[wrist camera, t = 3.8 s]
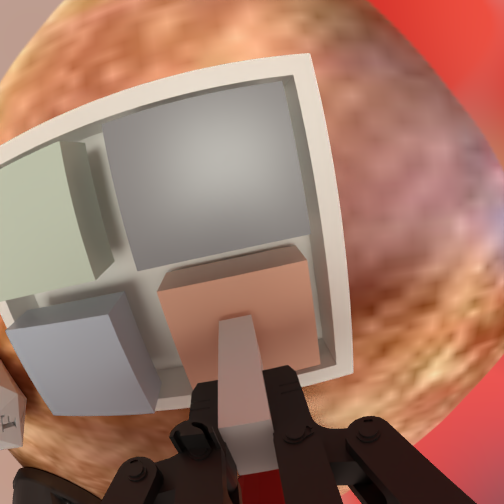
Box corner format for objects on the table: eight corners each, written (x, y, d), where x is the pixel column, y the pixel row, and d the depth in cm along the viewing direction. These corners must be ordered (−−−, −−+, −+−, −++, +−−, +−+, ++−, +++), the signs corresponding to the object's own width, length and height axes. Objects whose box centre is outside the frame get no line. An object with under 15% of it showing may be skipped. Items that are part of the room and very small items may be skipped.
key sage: (17, 285, 14) (-7, 303, 12) (-11, 186, 13) (-40, 192, 10) (114, 261, 14) (95, 280, 12) (85, 142, 13) (59, 140, 10)
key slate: (67, 390, 17) (53, 415, 14) (27, 310, 15) (5, 330, 12) (161, 383, 17) (154, 413, 14) (124, 290, 15) (108, 314, 12)
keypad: (73, 381, 20) (55, 413, 16) (-3, 166, 15) (-41, 171, 12) (333, 338, 21) (353, 373, 17) (292, 74, 16) (309, 53, 12)
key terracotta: (196, 362, 18) (192, 389, 16) (166, 272, 16) (156, 291, 14) (309, 339, 18) (320, 364, 16) (295, 244, 17) (307, 260, 14)
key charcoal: (151, 252, 14) (137, 271, 12) (122, 129, 13) (101, 124, 10) (296, 221, 15) (311, 234, 12) (272, 94, 13) (282, 80, 10)
